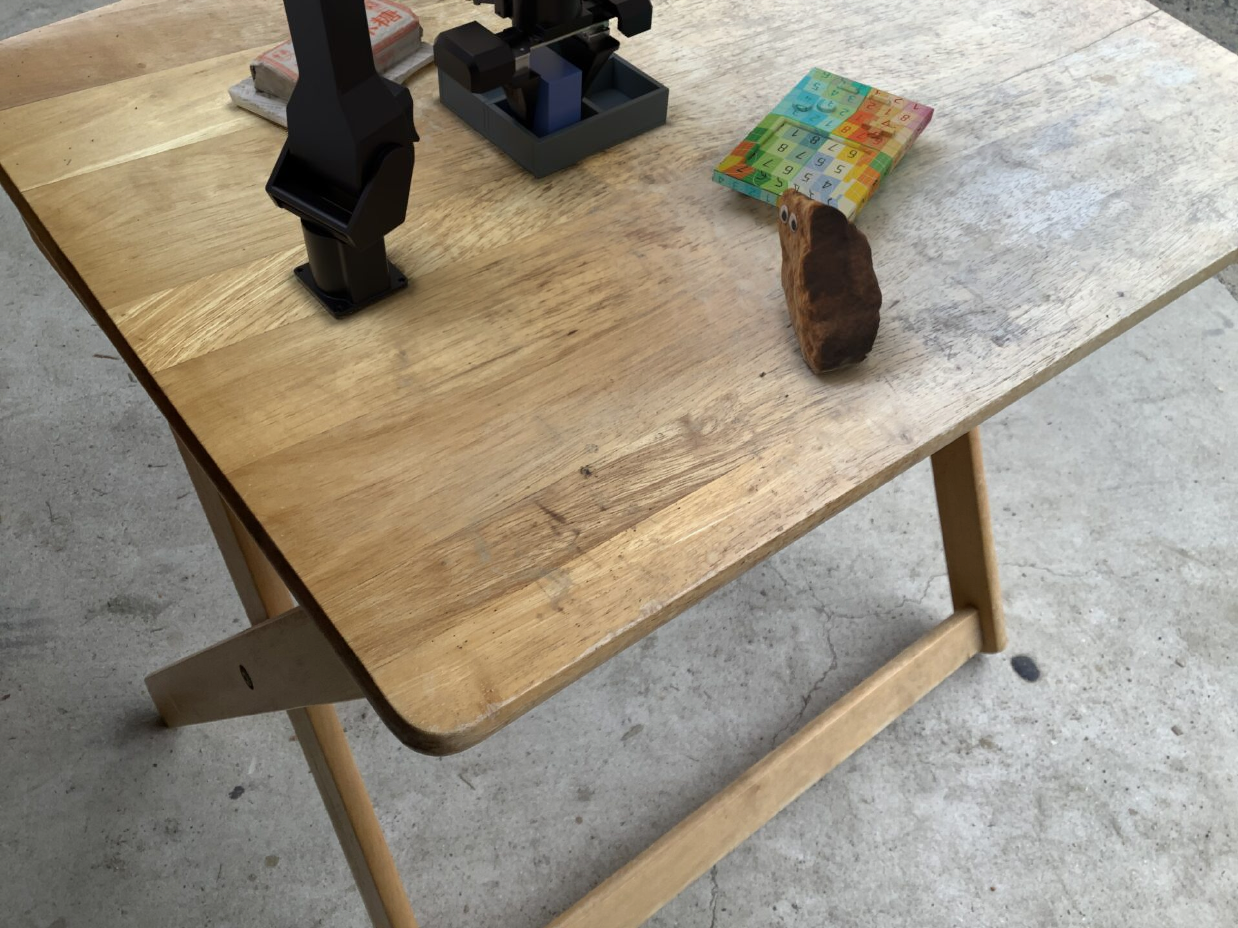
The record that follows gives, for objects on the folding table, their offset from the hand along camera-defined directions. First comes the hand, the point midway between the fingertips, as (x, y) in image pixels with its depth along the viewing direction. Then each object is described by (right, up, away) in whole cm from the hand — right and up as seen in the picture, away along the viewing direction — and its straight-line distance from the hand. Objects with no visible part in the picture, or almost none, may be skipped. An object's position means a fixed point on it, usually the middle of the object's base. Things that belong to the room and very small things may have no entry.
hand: (546, 123), depth 95 cm
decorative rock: (+21, -19, -12) cm, 31 cm away
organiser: (0, +2, +5) cm, 5 cm away
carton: (0, -1, +1) cm, 1 cm away
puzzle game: (+24, -5, +1) cm, 25 cm away
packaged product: (-20, +6, +6) cm, 21 cm away
